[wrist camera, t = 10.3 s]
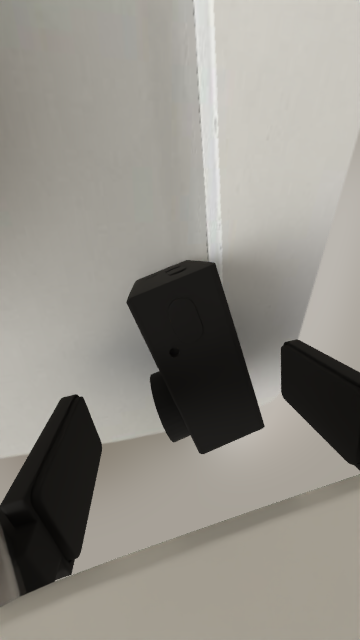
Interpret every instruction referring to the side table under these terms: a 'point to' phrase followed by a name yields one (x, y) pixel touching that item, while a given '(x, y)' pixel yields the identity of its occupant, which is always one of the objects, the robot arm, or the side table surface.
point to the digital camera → (195, 356)
